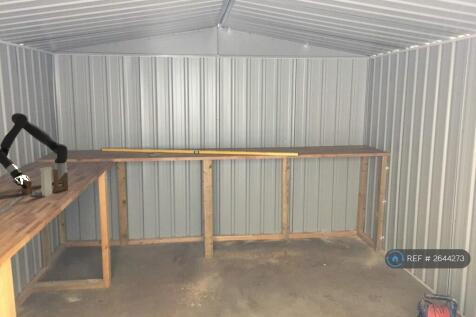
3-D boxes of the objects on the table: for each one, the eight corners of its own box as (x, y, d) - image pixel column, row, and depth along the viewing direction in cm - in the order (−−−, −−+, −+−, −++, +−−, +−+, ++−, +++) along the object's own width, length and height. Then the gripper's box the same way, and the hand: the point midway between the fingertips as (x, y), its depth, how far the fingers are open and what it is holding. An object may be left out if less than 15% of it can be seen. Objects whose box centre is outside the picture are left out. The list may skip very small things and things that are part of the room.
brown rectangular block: (25, 192, 323) (24, 180, 321) (32, 193, 322) (31, 180, 320) (21, 193, 319) (20, 181, 318) (28, 194, 318) (27, 181, 316)
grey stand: (39, 192, 324) (37, 165, 321) (54, 193, 322) (53, 166, 318) (29, 195, 314) (27, 168, 310) (44, 197, 311) (43, 169, 308)
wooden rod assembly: (68, 190, 335) (67, 168, 332) (55, 192, 327) (54, 169, 324) (66, 189, 338) (65, 167, 335) (52, 191, 329) (52, 169, 327)
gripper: (10, 169, 312) (24, 186, 311) (23, 166, 326) (37, 182, 325) (4, 176, 314) (19, 193, 313) (18, 172, 328) (32, 188, 327)
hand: (28, 187), depth 319 cm, fingers open, 5 cm apart
